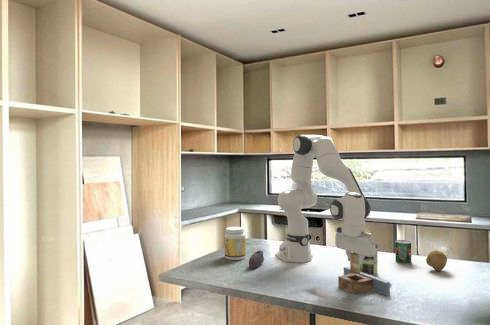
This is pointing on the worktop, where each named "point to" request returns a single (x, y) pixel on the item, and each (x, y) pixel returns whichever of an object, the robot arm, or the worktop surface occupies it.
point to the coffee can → (370, 264)
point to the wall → (374, 282)
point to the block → (355, 283)
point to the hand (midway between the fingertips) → (355, 262)
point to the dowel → (354, 263)
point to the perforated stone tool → (256, 259)
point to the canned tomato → (403, 251)
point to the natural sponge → (436, 260)
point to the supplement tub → (235, 243)
